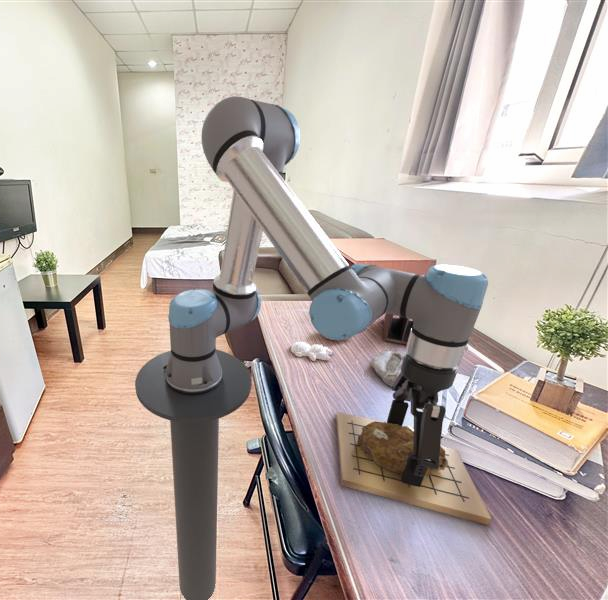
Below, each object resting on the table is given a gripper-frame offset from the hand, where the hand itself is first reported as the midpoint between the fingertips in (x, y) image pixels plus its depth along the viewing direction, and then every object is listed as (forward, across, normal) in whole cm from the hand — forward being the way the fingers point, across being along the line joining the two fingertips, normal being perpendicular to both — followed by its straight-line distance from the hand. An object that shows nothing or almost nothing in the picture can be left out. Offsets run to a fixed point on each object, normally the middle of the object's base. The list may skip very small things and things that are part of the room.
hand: (401, 452), depth 60 cm
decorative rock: (+1, 0, 0) cm, 1 cm away
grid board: (+2, 0, 0) cm, 2 cm away
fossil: (+2, +34, -6) cm, 35 cm away
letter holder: (+2, +61, -13) cm, 62 cm away
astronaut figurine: (+3, +36, +17) cm, 40 cm away
